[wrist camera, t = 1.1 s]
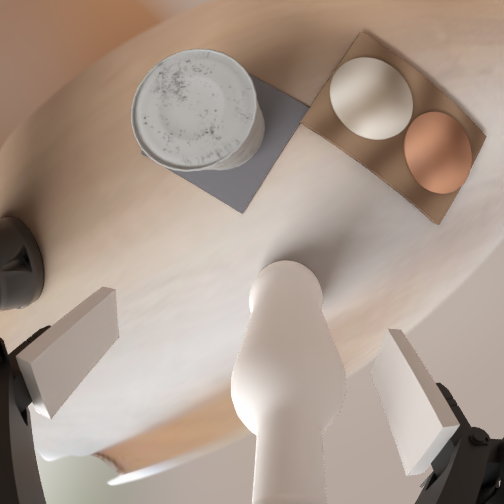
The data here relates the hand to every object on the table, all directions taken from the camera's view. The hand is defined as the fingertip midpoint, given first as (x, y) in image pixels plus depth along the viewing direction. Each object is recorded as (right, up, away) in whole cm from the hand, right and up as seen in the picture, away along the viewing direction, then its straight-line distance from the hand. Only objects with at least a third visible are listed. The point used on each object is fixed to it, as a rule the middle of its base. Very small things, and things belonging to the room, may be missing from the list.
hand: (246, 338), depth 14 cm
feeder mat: (-3, +18, +18) cm, 25 cm away
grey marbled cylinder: (-3, +18, +18) cm, 25 cm away
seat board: (+18, +18, +16) cm, 30 cm away
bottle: (+4, 0, +23) cm, 23 cm away
